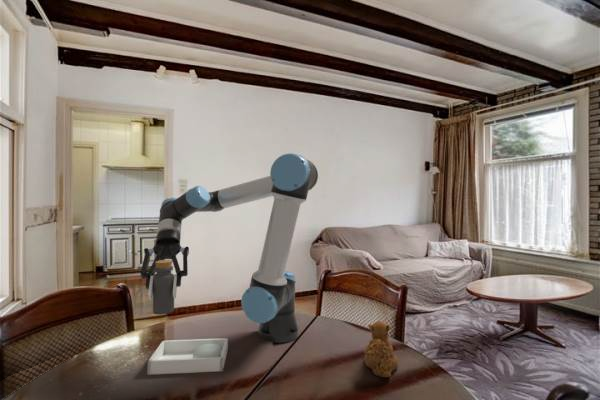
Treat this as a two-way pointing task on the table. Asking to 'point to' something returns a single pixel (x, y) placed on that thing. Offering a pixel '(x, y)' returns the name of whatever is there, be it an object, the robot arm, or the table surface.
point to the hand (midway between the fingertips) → (162, 296)
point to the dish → (207, 351)
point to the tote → (185, 357)
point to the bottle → (163, 288)
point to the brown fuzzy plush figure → (380, 351)
